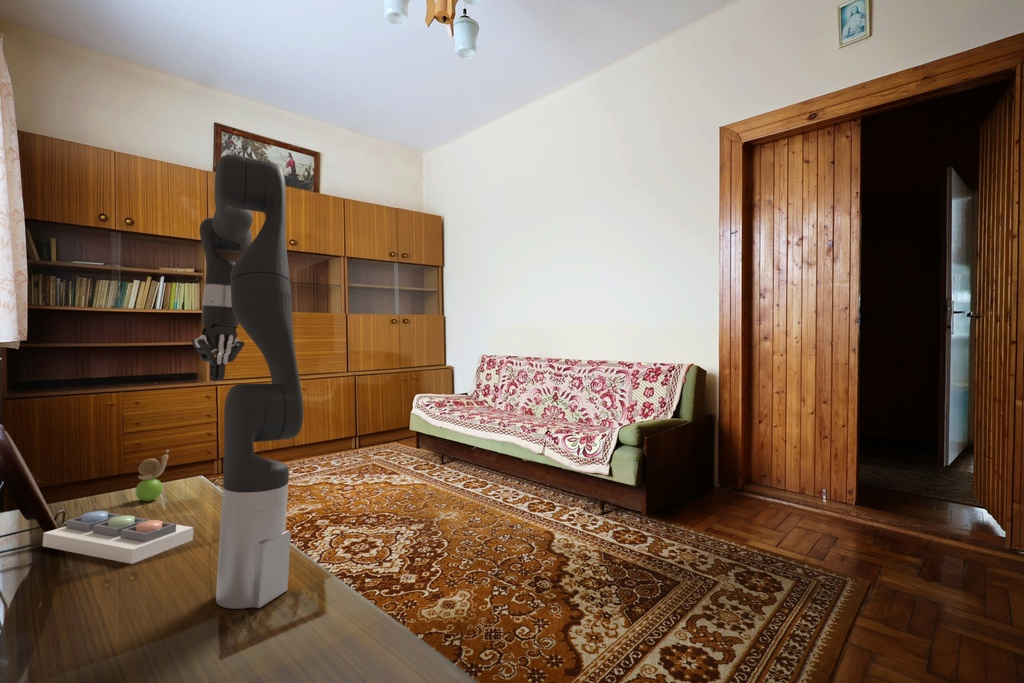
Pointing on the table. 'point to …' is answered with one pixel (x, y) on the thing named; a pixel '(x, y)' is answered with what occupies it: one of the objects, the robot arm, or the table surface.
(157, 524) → the salmon button
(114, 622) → the table surface
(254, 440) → the robot arm
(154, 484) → the snail figurine
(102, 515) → the slate button
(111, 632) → the table surface
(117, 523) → the sage button
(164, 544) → the button panel
